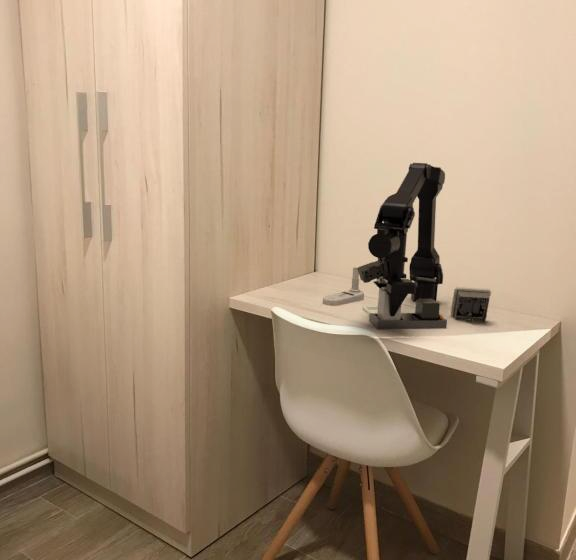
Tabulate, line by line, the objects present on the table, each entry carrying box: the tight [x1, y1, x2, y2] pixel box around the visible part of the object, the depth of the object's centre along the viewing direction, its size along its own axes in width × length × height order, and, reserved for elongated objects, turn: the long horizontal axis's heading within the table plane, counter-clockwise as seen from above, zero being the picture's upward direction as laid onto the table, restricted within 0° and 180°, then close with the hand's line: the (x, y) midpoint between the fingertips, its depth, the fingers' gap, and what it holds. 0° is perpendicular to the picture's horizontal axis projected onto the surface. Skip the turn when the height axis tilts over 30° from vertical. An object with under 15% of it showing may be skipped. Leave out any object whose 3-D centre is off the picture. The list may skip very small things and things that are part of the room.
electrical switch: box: [450, 286, 492, 324], centre depth 163 cm, size 9×5×9 cm, turn 84°
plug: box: [377, 287, 402, 321], centre depth 155 cm, size 4×4×8 cm
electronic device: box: [322, 267, 365, 307], centre depth 178 cm, size 5×10×15 cm
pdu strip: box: [368, 299, 448, 330], centre depth 157 cm, size 18×7×7 cm, turn 99°
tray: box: [361, 305, 403, 316], centre depth 167 cm, size 9×8×1 cm
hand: (389, 313), depth 156 cm, fingers closed on plug, 4 cm apart
